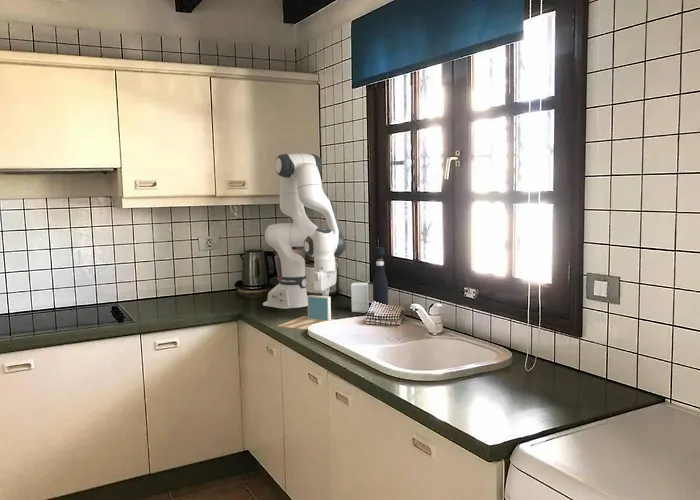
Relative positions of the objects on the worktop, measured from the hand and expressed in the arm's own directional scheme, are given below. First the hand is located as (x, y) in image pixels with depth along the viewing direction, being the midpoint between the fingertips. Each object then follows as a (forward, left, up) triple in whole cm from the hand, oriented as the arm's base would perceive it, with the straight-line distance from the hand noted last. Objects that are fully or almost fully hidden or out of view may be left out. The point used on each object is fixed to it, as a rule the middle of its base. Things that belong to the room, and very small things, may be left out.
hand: (325, 298), depth 276 cm
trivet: (0, -12, -9) cm, 15 cm away
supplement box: (+7, +19, -9) cm, 22 cm away
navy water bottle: (+20, +13, -9) cm, 25 cm away
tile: (0, -5, -8) cm, 10 cm away
